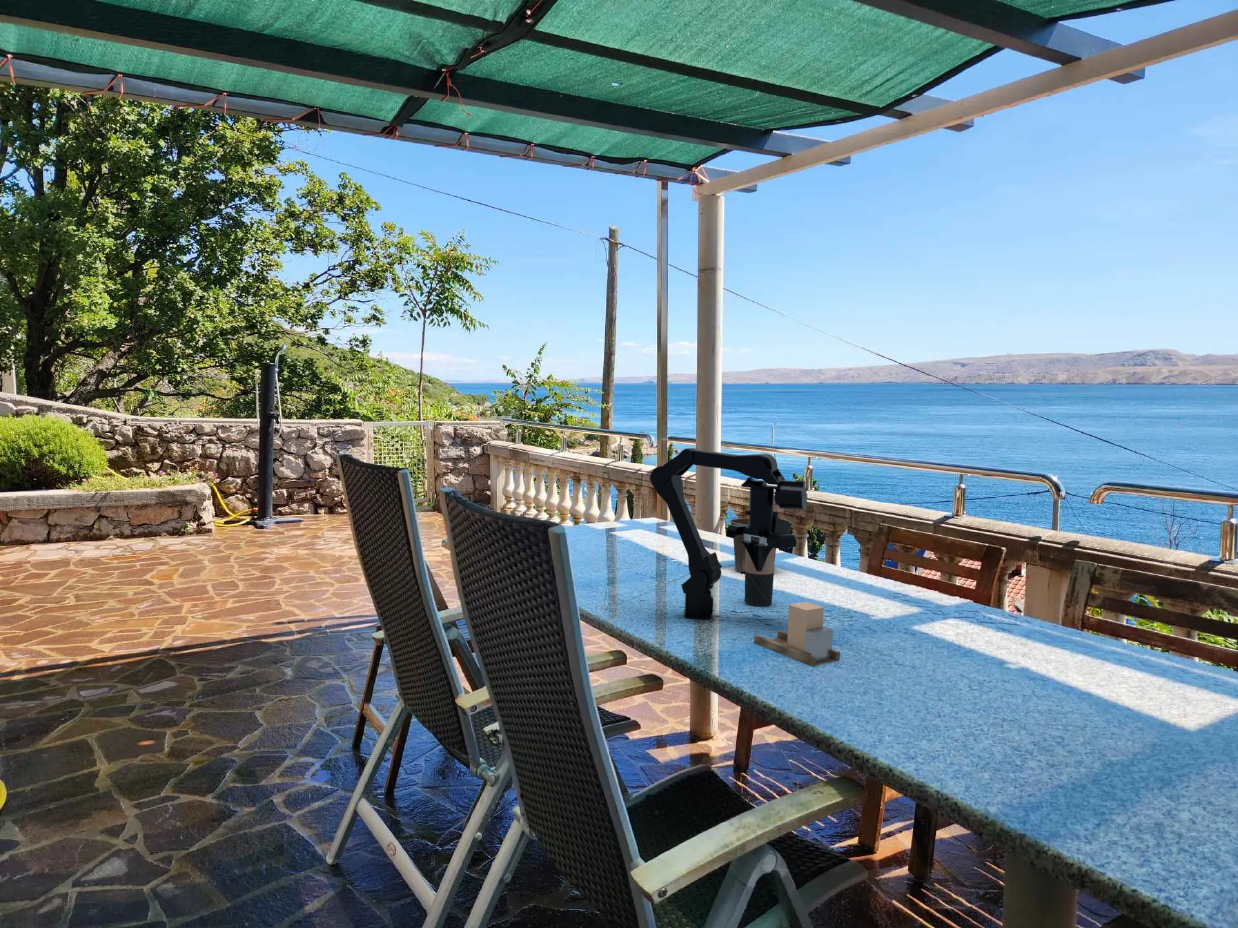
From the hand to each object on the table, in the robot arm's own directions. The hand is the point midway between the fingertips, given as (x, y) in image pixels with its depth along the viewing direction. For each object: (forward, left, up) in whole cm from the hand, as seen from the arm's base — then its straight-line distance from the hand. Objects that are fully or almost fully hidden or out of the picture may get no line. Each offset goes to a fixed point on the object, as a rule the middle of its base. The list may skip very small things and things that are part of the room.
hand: (759, 571), depth 181 cm
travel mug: (+3, +20, -13) cm, 24 cm away
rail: (+5, -21, -13) cm, 26 cm away
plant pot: (+7, +60, -13) cm, 62 cm away
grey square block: (+9, -27, -13) cm, 31 cm away
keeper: (+7, -23, -12) cm, 27 cm away
